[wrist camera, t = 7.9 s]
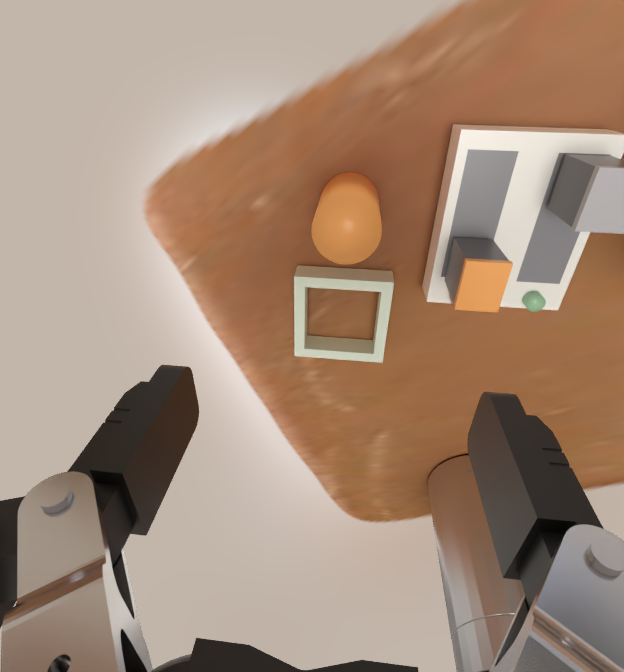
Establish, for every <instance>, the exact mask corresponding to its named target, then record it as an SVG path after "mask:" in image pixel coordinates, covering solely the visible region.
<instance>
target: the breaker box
mask: <svg viewBox="0 0 624 672" xmlns="http://www.w3.org/2000/svg"><path fill="white" fill-rule="evenodd" d="M623 153H624V133H620V132H616V131H612V130H608V129H583V128H551V127H520V126H489V125H458V124H453V127H452V132H451V138H450V143H449V148H448V153H447V159H446V164H445V169H444V174H443V180H442V185H441V190H440V195H439V201H438V206H437V211H436V216H435V222H434V227H433V232H432V237H431V243H430V248H429V253H428V258H427V264H426V269H425V274H424V279H423V284H422V287H423V291H424V294H425V298H426V302H437V303H452V304H453V301H452V298H451V296H450V293H449V291H448V288H447V286H446V283H445V276H446V271H447V267H448V262H449V258H450V253H451V249H452V244H453V240H454V237H455V238H474V239H493V240H494V242H495V243H496V244H497V246H498V247H499V248H500V249H501V251H502V252H503V253H504V255H505V256H506V257H507V259H508V260H509V261H512V263H513V266H512V269H511V272H510V276H509V279H508V282H507V285H506V288H505V291H504V294H503V297H502V301H501V304H500V307H514V308H527V309H528V310H529V311H532V312H536V311H539V310H541V309H545V310H558V309H559V306H560V304H561V302H562V299H563V297H564V294H565V292H566V290H567V287H568V285H569V282H570V280H571V278H572V275H573V273H574V270H575V268H576V266H577V263H578V261H579V258H580V256H581V254H582V251H583V249H584V246H585V244H586V242H587V239H588V237H589V234H590V232H578V231H573V230H572V229H571V228H572V227H571V226H569V225H568V224H567V223H565V222H564V221H563V220H561V219H560V218H559V217H558V216H556V215H555V214H554V213H552V212H551V211H550V210H548V209H547V207H548V204H549V201H550V198H551V196H552V193H553V190H554V187H555V184H556V181H557V178H558V175H559V172H560V169H561V166H562V163H563V161H564V158H565V155H566V154H577V155H604V156H613V157H616V158H619V159H621V158H622V155H623ZM453 305H454V304H453Z"/></svg>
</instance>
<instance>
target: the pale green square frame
mask: <svg viewBox="0 0 624 672" xmlns="http://www.w3.org/2000/svg"><path fill="white" fill-rule="evenodd" d="M308 287H312V288H328V289H343V290H359V291H375V292H379V296H378V304H377V312H376V320H375V328H374V336H373V340H365V339H351V338H337V337H324V336H310V335H307V307H308ZM393 287H394V278H393V272H392V271H385V270H369V269H352V268H335V267H318V266H302V265H298V266H297V269H296V272H295V275H294V336H295V356H302V357H315V358H327V359H340V360H353V361H366V362H379V363H382V362H383V355H384V349H385V342H386V335H387V328H388V321H389V314H390V308H391V301H392V294H393Z"/></svg>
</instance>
